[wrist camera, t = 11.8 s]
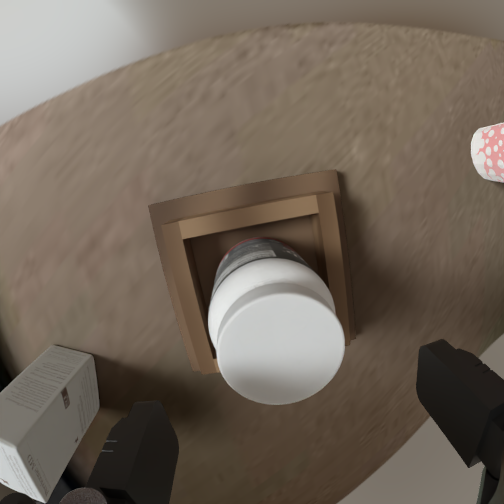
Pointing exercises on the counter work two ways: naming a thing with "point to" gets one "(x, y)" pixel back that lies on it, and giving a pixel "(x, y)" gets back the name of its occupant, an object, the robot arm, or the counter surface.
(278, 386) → the pill bottle
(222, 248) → the wooden tray
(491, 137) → the beverage cup
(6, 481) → the skincare box
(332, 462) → the counter surface
